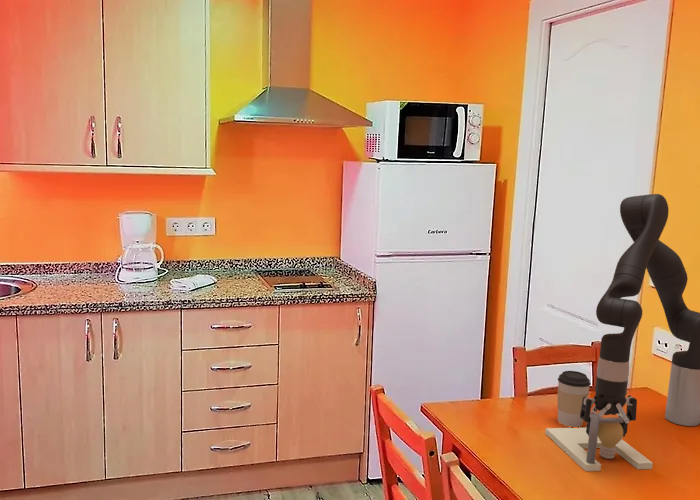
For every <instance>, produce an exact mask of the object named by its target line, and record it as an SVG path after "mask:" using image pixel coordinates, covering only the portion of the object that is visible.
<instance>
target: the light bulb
mask: <svg viewBox="0 0 700 500" xmlns="http://www.w3.org/2000/svg"><path fill="white" fill-rule="evenodd" d="M598 438H599V439H600V441H601V445H600V449H599V456H600V457H602V458H603V459H607V460H612V459H614V458H615V457H616V452H615V450H616V446H615V445H616V444H618V443H619V442H620V441H621V439H622V440H623V438H624V437H623V428H622V426H621V425H620V424H619V423H599V429H598Z"/></svg>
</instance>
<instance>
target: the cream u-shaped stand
mask: <svg viewBox="0 0 700 500" xmlns="http://www.w3.org/2000/svg"><path fill="white" fill-rule="evenodd" d="M623 422H624V419H623V418H619V417H601V418H600V416H599V415H596V414H592V415H591V422H590V431H589V436H588V434H587V433H586V427H587V426H586V427H579V428H571V427H555V428H553V427H546V428H545V430H544V431H545V432H544V433H545V436H547V437H548V438H549V437H550V438H551V439H552V440H553V441H554V442H553V443H554V444H555V445H556V446H558V447H559V448H560V449H561V450H562V451H563V452H564V451H565V452H564V453H565V454H567V456H568V457H569V458H571V459H572V460H573V462H575V463H576V464H577V465H578V466H579V467H580V468H581V469H583V470H584V471H585V472H600V471H601V469H602V468H601V467H602V464H601V463H600V462H599V461H598V460H596V456H597V449H596V448H600V445H601V441H600V439H599V438H598V429H599V423H623ZM550 438H549V439H550ZM551 439H550V440H551ZM552 440H551V441H552ZM615 446H616V450H615V454H617V455H619V456H620V457H621V458H623V459H624V460H625V461H627V462H628V463H629V464H630V465H631V466H632V467H634V468H635V469H637V470H652V469H653V464H654V463H653V461H651V460H649V459H648V458H647V457H646V456H644V455H643V454H642V453H641V452H639V451H638V450H637V449H635V448H634V447H633V446H631V445H630V444H629V443H627V442H626V441H624V440H623V438H622V439H621V441H620V442H619V443H618V444H616V445H615ZM586 448H587V449H586ZM586 450H587V451H586Z"/></svg>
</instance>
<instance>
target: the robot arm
mask: <svg viewBox="0 0 700 500" xmlns="http://www.w3.org/2000/svg"><path fill="white" fill-rule="evenodd" d="M620 202H621V203H620V205H619V214H620V218H621V221H622V223H623V226H624V228H625V230H626V232H627V234H628V235H629V236H630V238H631V240H632V241H633V243H632V244H631V245H630V246H629V247H628V248H627V249H626V250H625V251H624V252H623V254H622V255H621V256H620V258H619V259H618V262H617V264H616V267H615V270H614V274H613V277H612V281H611V283H610V285H609V286H608V288H607V290H606V291H605V292H604V294H603V295H602V297H601V298H600V300H599V301H598V303H597V306H596V309H595V315H596V319H597V320H598V321H599V322H600V323H601V324H603V325H606V326H608V325H609V326H614V327H619V328H623V331H622V332H619V333H606V334H603V336H602V337H601V341H600V348H599V358H598V360H597V361H598V362H597V365H596V366H597V367H596V376H595V377H596V378H595V386H594V387H595V388H594V391H595V394H594V397H589V396H588V397H586V396H584V397H583V400H582V406H581V412H580V418H581V419H582V420H583V422H585V423H586V433H587V434H588V436H589V431H590V422H591V415H592V414H596V415H599V416H600V418H603V416H609V415H611V416H612V415H613V416H618V418H623V419H624V422H623V423H619V424H620V425H621V426H622V428H623V437H622V438H624V437H626V435H627V433H628V425H629V423H630V422H631V421H634V422H635V421H636V420H637V406H638V400H637V398H636V397H634V396H632V395H628V396H627V393H628V384H629V375H630V358H631V357H630V356H631V347H632V343H633V339H634V336H635V334H636V331H637V328H638V327H639V325H640V322H641V319H642V317H643V307H642V305H641V304H640V303H639V302H638V300H633V299H627V298H630V297H635V296H637V295H639V294H640V292H641V289H642V286H643V281H644V279H645V274H646V271H647V273H648V275H649V278H650V280H651V282H652V284H653V287H654V288H655V291H656V293H657V296H658V299H659V300H660V303H661V305H662V308H663V311H664V315H665V318H666V322H667V325H668V328H669V330H670V333H671V334H672V336H674V337H675V338H676V339H678V340H679V341H684V342H687V343H689V345H688V349H687V350H681V351H680V350H679V351H675V352H673V354H672V358H671V366H670V374H669V382H668V388H667V390H668V391H667V398H666V405H665V412H664V413H665V414H664V418H665V419H666V420H667V421H669V422H670V423H673V424H676V425H680V426H686V427H696V426H699V425H700V312H698V311H695V310H691V309H690V308H688V307H687V304H686V303H685V301H684V297H683V294H684V292H685V289H686V287H687V285H688V278H689V277H688V273H687V271H686V268H685V266H684V264H683V261H682V258H681V257H680V255H679V254H678V253H677V252H676V251H674V250H673V249H672V248H671V247H669V246H668V245H667V244H665V243H664V242H663V241H662V240H660V238H661V236H662V233H663V232H664V229H665V227H666V224H667V222H668V218H669V204H668V201H667V199H666V197H664V196H663V194H659V193H651V194H643V195H642V194H641V195H635V196H629V197H625V198H624V199H623V200H622V201H620ZM625 405H626V412H625V410H624V409H623V408H624V406H625Z"/></svg>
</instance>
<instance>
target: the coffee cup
mask: <svg viewBox="0 0 700 500" xmlns="http://www.w3.org/2000/svg"><path fill="white" fill-rule="evenodd" d="M557 381H558V384H557V386H558V387H557V423H558V422H560V423H561V424H563V425H566V426H571V427H579V426H581V425H582V426H583V422H584V420H582V419H581V418H580V412H581V406H582V400H583V397H584V396H586V397H588V398H589V394H590V391H589V390H590V386H591V385H592V384H591V380H590V379H589V378H588V376H587V374H585V373H583V372H581V371H577V370H565V371H563V372H562V373H561V374H559V375H558V378H557ZM561 424H560V425H561ZM563 425H562V426H563ZM566 426H565V427H566ZM582 426H581V427H582ZM571 427H570V428H571ZM579 428H580V427H579Z"/></svg>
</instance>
